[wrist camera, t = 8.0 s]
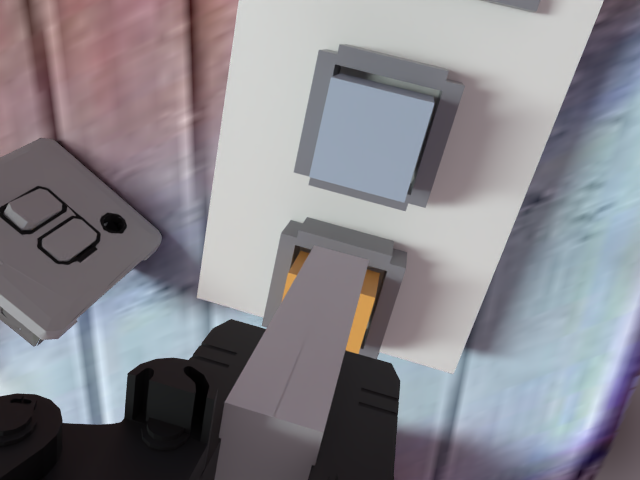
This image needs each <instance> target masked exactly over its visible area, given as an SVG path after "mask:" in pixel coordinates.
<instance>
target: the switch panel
mask: <svg viewBox="0 0 640 480" xmlns="http://www.w3.org/2000/svg"><path fill="white" fill-rule="evenodd" d="M603 1H604V0H239V3H238V10H237V17H236V24H235V32H234V39H233V46H232V53H231V60H230V67H229V74H228V81H227V88H226V95H225V102H224V109H223V116H222V123H221V130H220V137H219V144H218V151H217V158H216V165H215V172H214V179H213V186H212V193H211V201H210V208H209V215H208V222H207V229H206V236H205V243H204V250H203V257H202V264H201V271H200V278H199V285H198V292H197V298H199V299H202V300H206V301H209V302H213V303H216V304H219V305H223V306H226V307H229V308H233V309H236V310H239V311H243V312H246V313H250V314H253V315H256V316H260V317H263V323H262V326H264V327H268V325H269V324H270V322H271V320H272V318H273V317H274V315H275V313H276V311H277V309H278V308H279V306H280V304H281V302H282V298H283V293H284V289H285V284H286V279H287V275H288V272H289V270H290V268H291V267H292V265H293V263H294V261H295V260H296V258H297V256H298V255H299V253H300V251H304V252H307V253H310V252H311V250H312V248H313V246H314V245H315V246H319V247H322V248H326V249H330V250H333V251H337V252H341V253H345V254H348V255H352V256H356V257H360V258H363V259H367V260H369V263H368V266H367V270H371V271H374V272H378V273H380V276H379V281H378V287H377V292H376V298H375V301H374V304H373V308H372V311H371V314H370V318H369V321H368V324H367V327H366V331H365V334H364V337H363V341H362V344H361V347H360V350H359V354H360V355H363V356H367V357H370V358H374V359H377V357H378V354H379V352H381V353H384V354H387V355H391V356H394V357H397V358H401V359H404V360H408V361H411V362H414V363H418V364H421V365H424V366H428V367H431V368H434V369H438V370H441V371H444V372H448V373H451V374H454V372H455V369H456V367H457V364H458V362H459V359H460V357H461V354H462V352H463V349H464V347H465V344H466V342H467V339H468V337H469V334H470V332H471V329H472V327H473V324H474V322H475V319H476V317H477V314H478V312H479V309H480V307H481V304H482V302H483V299H484V297H485V295H486V292H487V290H488V287H489V285H490V282H491V280H492V277H493V275H494V272H495V270H496V267H497V265H498V262H499V260H500V257H501V255H502V252H503V250H504V247H505V245H506V242H507V240H508V237H509V235H510V232H511V230H512V227H513V225H514V222H515V220H516V217H517V215H518V212H519V210H520V207H521V205H522V203H523V200H524V198H525V195H526V193H527V190H528V188H529V185H530V183H531V180H532V178H533V175H534V173H535V170H536V168H537V165H538V163H539V160H540V158H541V155H542V153H543V150H544V148H545V145H546V143H547V140H548V138H549V135H550V133H551V130H552V128H553V125H554V123H555V120H556V118H557V115H558V113H559V111H560V108H561V106H562V103H563V101H564V98H565V96H566V93H567V91H568V88H569V86H570V83H571V81H572V78H573V76H574V73H575V71H576V68H577V66H578V63H579V61H580V58H581V56H582V53H583V51H584V48H585V46H586V43H587V41H588V38H589V36H590V33H591V31H592V28H593V26H594V24H595V21H596V19H597V16H598V14H599V11H600V9H601V6H602V4H603ZM340 73H343V74H347V75H351V76H355V77H359V78H363V79H367V80H371V81H375V82H379V83H383V84H387V85H391V86H395V87H399V88H403V89H407V90H411V91H415V92H419V93H422V94H426V95H430V96H433V98H434V103H435V104H434V107H433V110H432V113H431V117H430V120H429V123H428V127H427V130H426V133H425V136H424V140H423V143H422V146H421V150H420V153H419V156H418V160H417V163H416V166H415V169H414V173H413V176H412V179H411V183H410V186H409V189H408V192H407V196H406V199H405V202H400V201H396V200H392V199H389V198H385V197H381V196H378V195H374V194H370V193H367V192H363V191H359V190H355V189H352V188H348V187H344V186H341V185H337V184H333V183H329V182H326V181H322V180H318V179H315V178H311V177H309V175H310V170H311V166H312V161H313V157H314V152H315V147H316V143H317V138H318V134H319V129H320V125H321V120H322V116H323V111H324V106H325V102H326V97H327V93H328V88H329V84H330V79H331V77H332V76H335V75H337V74H340Z"/></svg>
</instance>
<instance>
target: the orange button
mask: <svg viewBox="0 0 640 480" xmlns="http://www.w3.org/2000/svg"><path fill="white" fill-rule="evenodd" d="M308 255H309V253H307V252H304V251H300V253H299V255H298V256H297V258H296V260H295V261H294V263H293V265H292V267H291V268H290V270H289V272H288V275H287V279H286V284H285V289H284V293H283V298H282V301H283V299H284V297H285V295H286V294H287V292H288V290H289V288H290V287H291V285H292V283H293V281H294V280H295V278H296V276H297V274H298V273H299V271H300V269H301V267H302V266H303V264H304V262H305V260H306V259H307V257H308ZM379 276H380V273H378V272H374V271H371V270H366V274H365V278H364V282H363V285H362V289H361V293H360V297H359V301H358V304H357V308H356V312H355V316H354V319H353V323H352V327H351V331H350V335H349V338H348V342H347V346H346V351H349V352H353V353H356V354H359V350H360V347H361V344H362V341H363V337H364V334H365V331H366V327H367V324H368V321H369V318H370V314H371V311H372V308H373V304H374V301H375V298H376V292H377V287H378V281H379Z"/></svg>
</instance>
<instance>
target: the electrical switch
mask: <svg viewBox="0 0 640 480" xmlns="http://www.w3.org/2000/svg"><path fill="white" fill-rule="evenodd" d="M161 240H162V236H161V234H160V232H159V230H157V229H156V228H155V227H154V226H153V225H152V224H151V223H149V222H148V221H147V220H146V219H145V218H144V217H142V216H141V215H140V214H139V213H138V212H137V211H136V210H134V209H133V208H132V207H131V206H130V205H129V204H127V203H126V202H125V201H124V200H123V199H122V198H121V197H119V196H118V195H117V194H116V193H115V192H114V191H112V190H111V189H110V188H109V187H108V186H107V185H106V184H104V183H103V182H102V181H101V180H100V179H99V178H97V177H96V176H95V175H94V174H93V173H92V172H91V171H89V170H88V169H87V168H86V167H85V166H84V165H82V164H81V163H80V162H79V161H78V160H77V159H76V158H74V157H73V156H72V155H71V154H70V153H69V152H67V151H66V150H65V149H64V148H63V147H62V146H61V145H59V144H58V143H57V142H56V141H54V140H52V139H45V138H40V139H38V140H36V141H34V142H32V143H30V144H27V145H25V146H23V147H21V148H19V149H17V150H15V151H13V152H11V153H9V154H7V155H5V156H3V157H0V320H1V321H3V322H4V323H5V324H6V325H8V326H9V327H10V328H11V329H13V330H14V331H15V332H16V333H18V334H19V335H20V336H21V337H23V338H24V339H25V340H26V341H28V342H29V343H30V344H31V345H33V346H36V344H37V343H38V341H39V343H38V345H39V344H40V343H41V342H42V341H43V340H48V339H58V338H59V337H61V336H62V335H63V334H64V333H65V332H66V331H67V330H68V329H70V328H71V327H72V326H73V325H74V324H75V323H76V322H77V320H76V319H77V318H78V317H79V316H80V315H81V314H83V313H84V312H85V311H86V310H87V309H88V308H89V307H90V306H91V305H93V304H94V303H95V302H96V301H97V300H98V299H99V298H100V297H102V296H103V295H104V294H105V293H106V292H107V291H108V290H109V289H111V288H112V287H113V286H114V285H115V284H116V283H117V282H118V281H120V280H121V279H122V278H123V277H124V276H125V275H126V274H127V273H129V272H130V271H131V270H132V269H133V268H134V267H135V266H137V265H138V264H139V263H140V262H141V261H142V260H147V259H148V258H149V257H150V256H151V255H152V254H153V253H154V252H155V251H157V249H158V247H159V245H160V244H161ZM20 329H21V330H20ZM39 339H40V340H39ZM38 345H37V346H38Z"/></svg>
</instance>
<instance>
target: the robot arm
mask: <svg viewBox="0 0 640 480" xmlns="http://www.w3.org/2000/svg"><path fill="white" fill-rule="evenodd" d="M368 263H369V260H367V259H363V258H360V257H356V256H352V255H348V254H345V253H341V252H337V251H333V250H330V249H326V248H322V247H319V246H315V245H314V246H313V248H312V250H311V252H310V253H309V255H308V257H307V259H306V260H305V262H304V264H303V266H302V267H301V269H300V271H299V273H298V274H297V276H296V278H295V280H294V281H293V283H292V285H291V287H290V288H289V290H288V292H287V294H286V295H285V297H284V299H283V301H282V302H281V304H280V306H279V308H278V309H277V311H276V313H275V315H274V317H273V318H272V320H271V322H270V324H269V325H268V327H267V329H263V328H260V327H256V326H253V325H250V324H246V323H243V322H239V321H236V320H232V319H231V320H229V321H227V322H225V323H223V324H221V325H219V326H217V327H215V328H213V329H212V330H211V332H210V333H209V334H208V336H207V337H206V338H205V340H204V341H203V342H202V345H201V346H199V347H198V349H197V350H196V351H195V353H194V354H193V357H192V358H190V359H189V360H185V359H178V358H163V359H155V360H152V361H149V362H146V363H143V364H140V365H139V366H137V367H136V368H134V369H133V370H132V371H130V372H129V373H128V377H127V390H126V404H125V417H124V419H123V421H122V422H120V423H115V424H103V425H91V424H68V423H62V416H61V411H60V408H58V407H57V406H56V405H55V404H54V403H53V402H52V401H51V400H50V399H47V398H44V397H41V396H38V395H35V394H11V395H6V396H0V480H394V461H395V447H396V433H397V419H398V417H397V415H398V405H399V402H398V400H399V391H400V380H399V378H398V376H397V374H396V372H395V370H394V368H393V366H392V364H391V363H388V362H384V361H381V360H377V359H374V358H370V357H367V356H363V355H360V354H356V353H353V352H349V351H346V346H347V342H348V338H349V335H350V331H351V327H352V323H353V319H354V316H355V312H356V308H357V304H358V301H359V297H360V293H361V289H362V285H363V282H364V278H365V274H366V270H367V266H368Z"/></svg>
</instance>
